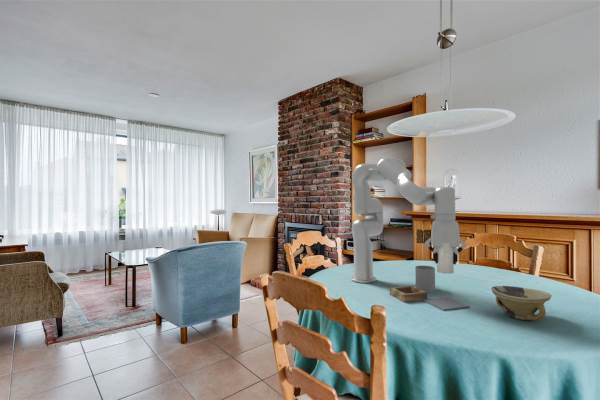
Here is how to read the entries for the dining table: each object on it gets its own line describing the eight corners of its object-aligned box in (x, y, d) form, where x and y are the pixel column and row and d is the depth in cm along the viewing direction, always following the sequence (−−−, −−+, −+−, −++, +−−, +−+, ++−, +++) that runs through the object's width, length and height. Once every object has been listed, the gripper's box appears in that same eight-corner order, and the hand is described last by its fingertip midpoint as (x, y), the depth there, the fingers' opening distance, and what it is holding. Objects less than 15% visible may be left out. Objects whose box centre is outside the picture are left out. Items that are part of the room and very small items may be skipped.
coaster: (423, 300, 132) (423, 299, 132) (447, 297, 135) (447, 296, 135) (443, 310, 120) (443, 309, 120) (469, 307, 123) (469, 305, 123)
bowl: (565, 323, 107) (565, 294, 107) (524, 330, 102) (524, 300, 102) (516, 306, 124) (516, 281, 124) (479, 311, 119) (479, 285, 119)
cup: (436, 292, 143) (436, 269, 143) (417, 291, 145) (417, 269, 145) (432, 286, 151) (432, 265, 151) (414, 286, 153) (414, 265, 153)
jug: (436, 269, 131) (436, 240, 131) (452, 270, 129) (452, 241, 129) (438, 274, 123) (437, 243, 123) (455, 275, 121) (454, 243, 121)
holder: (389, 294, 140) (389, 287, 140) (411, 292, 143) (411, 285, 143) (404, 302, 130) (404, 295, 130) (427, 299, 133) (427, 292, 133)
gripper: (421, 218, 126) (422, 264, 127) (470, 219, 121) (471, 266, 121) (421, 217, 133) (421, 260, 134) (467, 217, 128) (468, 262, 128)
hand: (445, 262), depth 127 cm, fingers closed on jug, 6 cm apart
